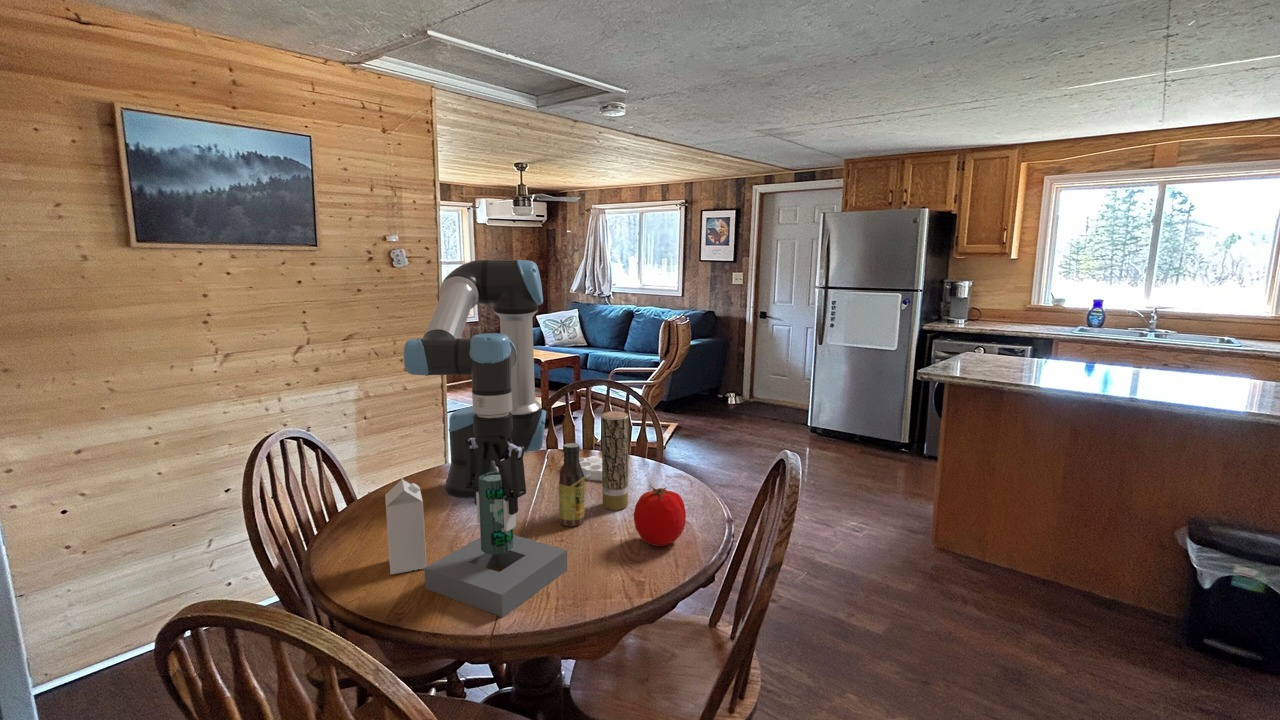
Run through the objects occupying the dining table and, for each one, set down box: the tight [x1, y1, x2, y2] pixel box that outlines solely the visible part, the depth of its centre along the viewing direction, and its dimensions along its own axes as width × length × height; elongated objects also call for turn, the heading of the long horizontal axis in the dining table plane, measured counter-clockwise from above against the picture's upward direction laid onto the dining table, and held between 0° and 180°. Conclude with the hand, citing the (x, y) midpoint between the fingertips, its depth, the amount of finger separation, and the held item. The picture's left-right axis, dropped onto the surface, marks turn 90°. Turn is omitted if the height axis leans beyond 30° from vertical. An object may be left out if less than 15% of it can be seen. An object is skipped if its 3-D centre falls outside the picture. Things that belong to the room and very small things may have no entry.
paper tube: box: [601, 410, 629, 511], centre depth 161 cm, size 7×7×25 cm
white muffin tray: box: [579, 455, 602, 482], centre depth 188 cm, size 3×18×15 cm
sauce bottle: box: [558, 442, 585, 527], centre depth 151 cm, size 6×6×20 cm
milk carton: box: [384, 474, 427, 575], centre depth 130 cm, size 7×7×19 cm
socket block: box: [423, 534, 568, 618], centre depth 125 cm, size 20×20×4 cm
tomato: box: [633, 485, 687, 547], centre depth 141 cm, size 12×12×13 cm
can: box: [478, 470, 514, 555], centre depth 123 cm, size 6×6×15 cm
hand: (496, 524), depth 124 cm, fingers closed on can, 6 cm apart
